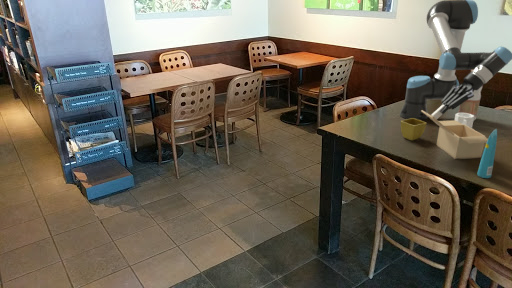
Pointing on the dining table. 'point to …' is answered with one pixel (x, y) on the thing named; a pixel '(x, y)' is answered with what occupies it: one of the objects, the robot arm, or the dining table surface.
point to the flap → (437, 122)
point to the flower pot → (412, 128)
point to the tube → (488, 156)
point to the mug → (465, 119)
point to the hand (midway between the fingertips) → (433, 117)
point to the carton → (460, 140)
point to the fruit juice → (471, 103)
